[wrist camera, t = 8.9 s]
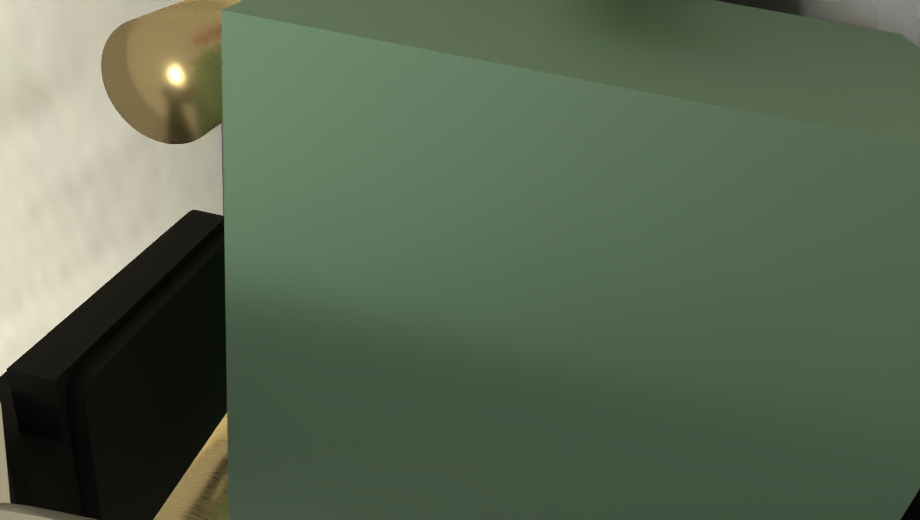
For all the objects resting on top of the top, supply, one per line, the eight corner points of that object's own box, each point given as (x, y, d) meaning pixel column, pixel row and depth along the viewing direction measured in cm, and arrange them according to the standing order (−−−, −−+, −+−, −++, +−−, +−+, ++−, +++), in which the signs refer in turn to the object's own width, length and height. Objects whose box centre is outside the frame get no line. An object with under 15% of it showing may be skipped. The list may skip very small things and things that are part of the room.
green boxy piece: (900, 33, 10) (1109, 180, 6) (682, 546, 15) (706, 831, 11) (383, -60, 11) (221, 10, 6) (338, 462, 16) (230, 700, 11)
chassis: (1231, -343, 10) (2089, -599, 4) (747, 602, 20) (799, 925, 14) (241, -471, 12) (-174, -808, 6) (244, 477, 22) (97, 726, 16)
